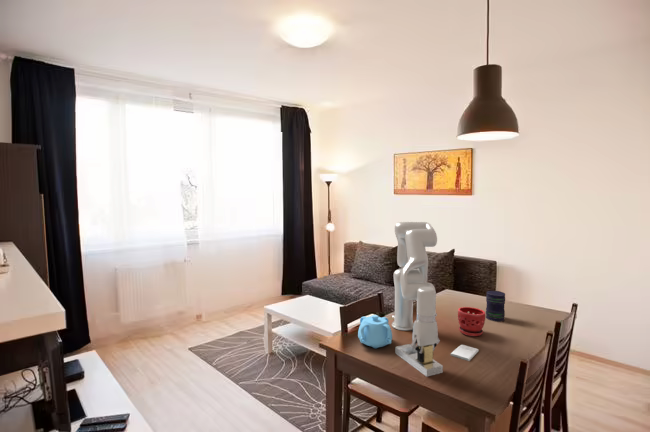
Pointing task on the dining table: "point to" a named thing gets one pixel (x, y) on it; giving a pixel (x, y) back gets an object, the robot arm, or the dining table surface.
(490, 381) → the dining table surface
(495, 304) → the storage jar
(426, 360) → the gold rectangular block
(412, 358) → the grey slotted plate
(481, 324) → the plant pot
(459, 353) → the external hard drive
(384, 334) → the decorative pot
